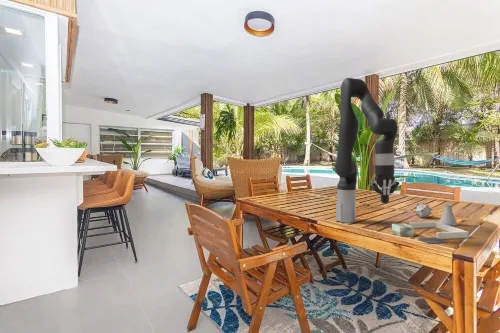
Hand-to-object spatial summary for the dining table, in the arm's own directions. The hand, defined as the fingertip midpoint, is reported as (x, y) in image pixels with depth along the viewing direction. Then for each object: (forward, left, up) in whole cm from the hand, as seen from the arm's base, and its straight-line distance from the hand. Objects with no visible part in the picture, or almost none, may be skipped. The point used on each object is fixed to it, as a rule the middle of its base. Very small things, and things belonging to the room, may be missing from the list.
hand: (384, 203), depth 111 cm
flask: (+40, +11, -14) cm, 44 cm away
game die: (+38, +25, -14) cm, 48 cm away
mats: (+14, 0, -14) cm, 20 cm away
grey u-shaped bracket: (+24, 0, -14) cm, 28 cm away
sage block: (+8, 0, -14) cm, 17 cm away
